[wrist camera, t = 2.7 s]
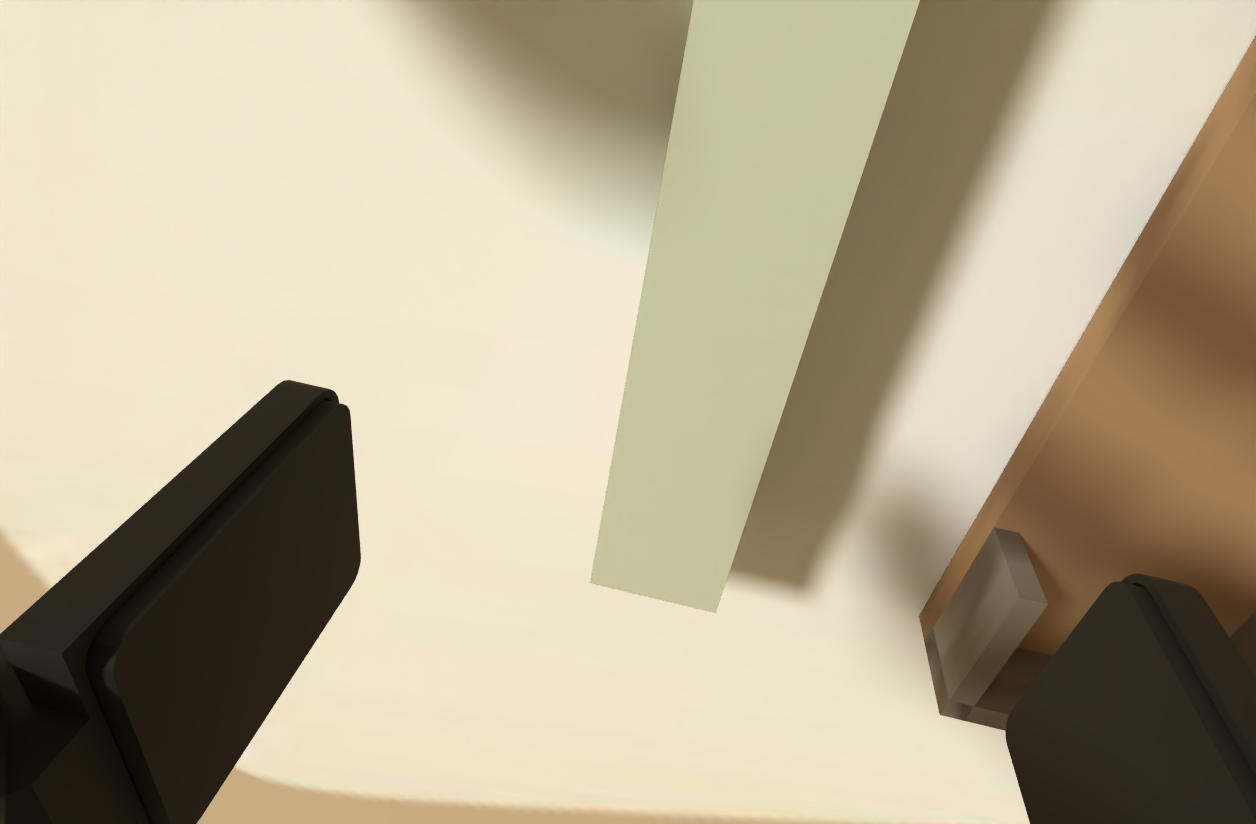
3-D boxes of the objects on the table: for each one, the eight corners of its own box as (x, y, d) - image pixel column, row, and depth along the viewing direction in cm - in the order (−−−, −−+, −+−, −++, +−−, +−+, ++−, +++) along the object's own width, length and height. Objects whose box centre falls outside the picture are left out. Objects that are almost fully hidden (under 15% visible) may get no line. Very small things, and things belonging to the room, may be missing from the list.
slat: (777, -358, 14) (777, -473, 10) (979, -325, 14) (1063, -428, 10) (618, 483, 27) (590, 583, 23) (725, 507, 27) (715, 613, 23)
